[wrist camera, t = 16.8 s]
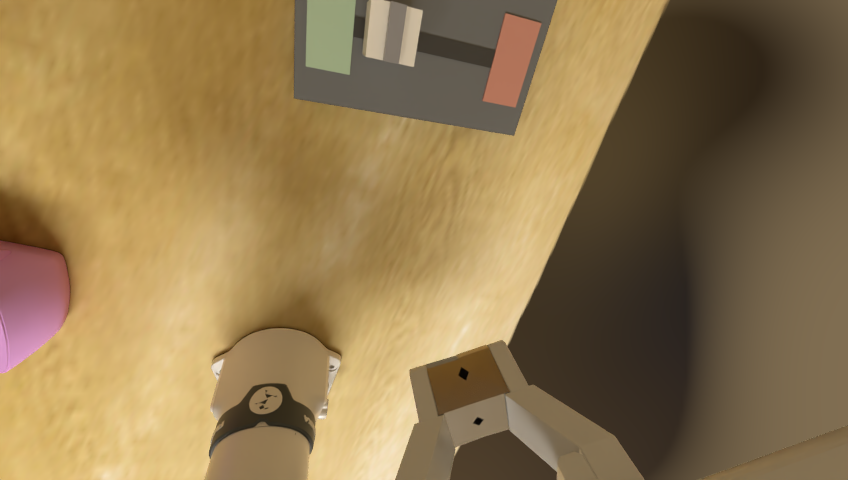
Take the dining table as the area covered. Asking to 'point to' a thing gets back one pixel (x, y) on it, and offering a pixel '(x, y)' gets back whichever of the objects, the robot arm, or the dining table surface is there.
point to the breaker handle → (391, 32)
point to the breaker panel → (426, 60)
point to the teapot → (30, 300)
